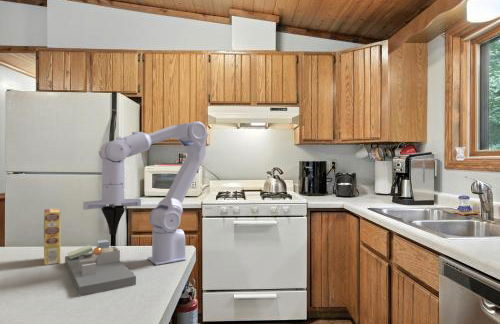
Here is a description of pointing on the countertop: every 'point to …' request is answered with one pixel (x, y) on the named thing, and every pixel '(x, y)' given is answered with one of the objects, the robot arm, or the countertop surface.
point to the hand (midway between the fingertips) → (112, 234)
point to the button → (107, 249)
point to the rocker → (80, 252)
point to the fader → (103, 243)
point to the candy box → (51, 236)
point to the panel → (99, 272)
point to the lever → (95, 254)
